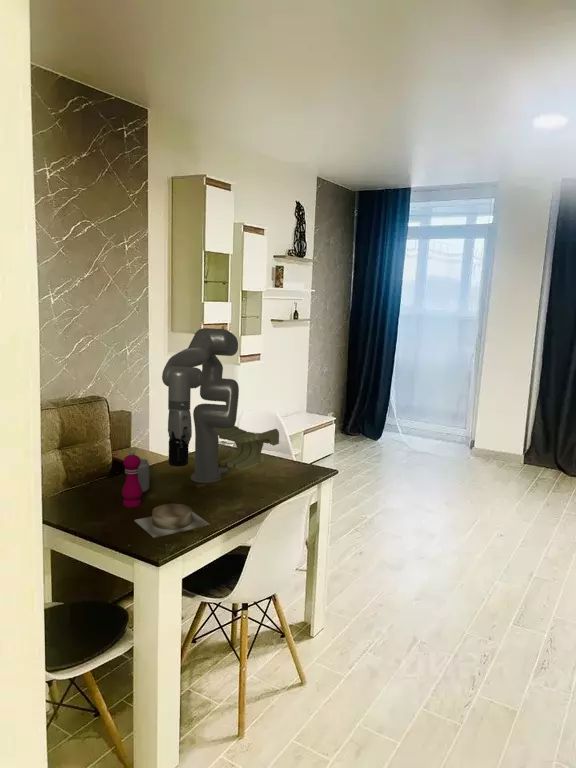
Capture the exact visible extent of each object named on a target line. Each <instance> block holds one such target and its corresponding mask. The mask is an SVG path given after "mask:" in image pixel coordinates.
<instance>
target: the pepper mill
mask: <svg viewBox="0 0 576 768" xmlns="http://www.w3.org/2000/svg"><path fill="white" fill-rule="evenodd" d="M140 459H141V458H140V457H139V456H138V455H135V451H134V450H130V451H129V455H127V456H125V457H124V458H123V463H122V464H123V466H124V473H125V476H126V477H125V478H126V479H125V483H124V484H123V487H122V489H121V496H122V498H123V500H122V505H123V507H125V508H138V507H139V506H141V504H142V499H141V497H142V496H143V493H142V488H141V486H140V484H139V481H138V473H139V468H138V467H139V466H140V464H141V461H140Z"/></svg>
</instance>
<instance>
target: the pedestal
mask: <svg viewBox="0 0 576 768" xmlns="http://www.w3.org/2000/svg"><path fill="white" fill-rule="evenodd" d="M151 514H152V515H151V516H147V517H142V518H138V519H134V522H135V523H136V525H138V526H140V528H142V529H143V530H144V531H145V532H146V533H148V534H149V535H150V536H151V537H152V538H153V539H154V538H160V537H164V536H167V535H172V534H177V533H182V532H186V531H191V530H196V529H199V528H203V527H204V526H205V527H208V526H207V525H209V526H210V525H211V524H210V522H208V521H206V520H205V519H203V518H202V517H200V516H199V515H198V514H196V513H195V512H194V511H193V508H192V507H191V506H189V505H187V504H183V503H167V504H162V505H158V506H156V507H155V508H153V509H152V511H151ZM205 527H204V528H205Z"/></svg>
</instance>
